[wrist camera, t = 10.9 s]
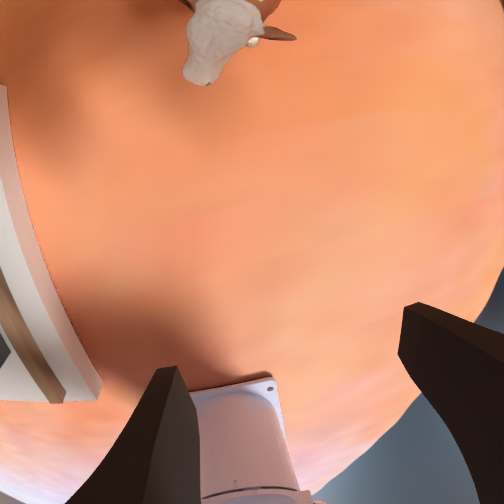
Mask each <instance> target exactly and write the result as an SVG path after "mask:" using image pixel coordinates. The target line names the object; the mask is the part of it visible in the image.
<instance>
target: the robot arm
mask: <svg viewBox="0 0 504 504" xmlns="http://www.w3.org/2000/svg"><path fill="white" fill-rule="evenodd" d="M398 356H399V358H400V360H401V361H402V363H403V365H404V367H405V369H406V370H407V372H408V374H409V375H410V377H411V378H412V380H413V381H414V383H415V384H416V385H417V387H418V388H419V389H420V390H421V392H422V393H423V394H424V396H425V397H426V398H427V399H428V401H429V402H430V404H431V405H432V406H433V408H434V409H435V410H436V411H437V413H438V414H439V415H440V417H441V418H442V420H443V421H444V422H445V424H446V425H447V427H448V428H449V430H450V432H451V433H452V435H453V437H454V439H455V441H456V443H457V444H458V447H459V449H460V450H461V453H462V455H463V457H464V459H465V462H466V464H467V466H468V468H469V471H470V473H471V476H472V479H473V481H474V484H475V487H476V491H477V494H478V498H479V501H480V504H504V334H503V333H500V332H497V331H494V330H491V329H488V328H485V327H482V326H480V325H477V324H475V323H472V322H469V321H467V320H464V319H462V318H459V317H457V316H455V315H452V314H450V313H447V312H445V311H442V310H440V309H437V308H434V307H432V306H429V305H426V304H423V303H420V302H417V303H414V304H412V305H409V306H406V307H404V311H403V320H402V328H401V335H400V342H399V349H398ZM268 387H270V388H268ZM285 441H286V436H285V430H284V425H283V419H282V414H281V408H280V403H279V397H278V391H277V386H276V381H275V379H274V378H273V377H266V378H262V379H258V380H253V381H249V382H244V383H239V384H234V385H229V386H224V387H219V388H213V389H208V390H202V391H196V392H190V393H189V392H188V390H187V388H186V385H185V383H184V381H183V379H182V376H181V374H180V372H179V369H178V367H177V366H172V367H165V368H159V369H157V370H156V372H155V373H154V375H153V377H152V379H151V381H150V383H149V384H148V386H147V388H146V390H145V392H144V394H143V396H142V398H141V399H140V401H139V403H138V405H137V407H136V408H135V410H134V412H133V414H132V415H131V417H130V419H129V421H128V422H127V424H126V426H125V427H124V429H123V431H122V432H121V434H120V435H119V437H118V438H117V440H116V441H115V443H114V445H113V446H112V448H111V449H110V451H109V452H108V454H107V455H106V456H105V458H104V459H103V461H102V462H101V463H100V465H99V466H98V467H97V468H96V470H95V471H94V472H93V473H92V475H91V476H90V477H89V478H88V479H87V481H86V482H85V483H84V484H83V485H82V486H81V487H80V488H79V489H78V490H77V491H76V493H75V494H74V495H73V496H72V497H71V498H70V499H69V500H68V501H67V502H66V503H65V504H326V503H324V502H322V501H313V500H312V497H311V494H310V491H309V490H306V491H300V489H299V485H298V482H297V479H296V476H295V472H294V469H293V466H292V463H291V459H290V456H289V453H288V449H287V446H286V443H285Z"/></svg>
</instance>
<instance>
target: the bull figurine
mask: <svg viewBox="0 0 504 504" xmlns="http://www.w3.org/2000/svg"><path fill="white" fill-rule="evenodd" d="M179 1H180V2H182V3H183V4H185V5H187V6H188V7H189V8H190V9H191V10H192V11H193V12H194V13H195V14H194V15H193V16H192V17H191V19H190V20H189V21H188V23H187V28H186V37H187V40H188V42H189V57H188V59H187V60H186V62H185V64H184V66H183V69H182V76H183V78H184V79H186V80H187V81H189V82H191V83H193V84H195V85H198V86H208V85H211V84H213V83H214V82H215V81H216V80H217V78H218V77H219V76H220V74H221V73H222V70H223V67H224V65H225V64H226V63H227V62H228V61H229V60H230V59H231V58H232V57H233V56H234V55H235V54H236V53H237V52H238V51H239V50H240V49H242V48H244V47H245V45H246V46H248V47H255V46H257V45H258V43H259V40H260V39H259V38H264V39H269V40H281V41H293V40H296V39H297V38H296V37H295V36H294V35H292V34H290V33H287V32H284V31H282V30H280V29H278V28H275V27H271V26H267V25H265V24H264V23H263V22H264V21H265V19H266V18H267V17H268V15H270V14H272V13H273V12H274V11H275V10H276V8H277V7H278V6H279V4H280V1H281V0H179Z"/></svg>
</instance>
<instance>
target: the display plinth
mask: <svg viewBox="0 0 504 504" xmlns="http://www.w3.org/2000/svg"><path fill="white" fill-rule="evenodd" d="M0 333H1V335H2V337H3V338H4V340H5V342H6V344H7V345H8V347H9V349H10V350H11V353H10V355H9V356H8V358H7V359H6V361H5V362H4V364H3V365H2V367H1V368H0V400H12V401H44V402H50V403H63V401H91V400H98V397H99V393H100V390H101V387H102V384H103V381H102V380H101V378H100V376H99V375H98V373H97V371H96V369H95V368H94V366H93V364H92V363H91V361H90V359H89V357H88V355H87V354H86V352H85V350H84V348H83V346H82V344H81V342H80V340H79V338H78V337H77V335H76V333H75V331H74V329H73V327H72V325H71V322H70V320H69V318H68V316H67V314H66V312H65V310H64V308H63V305H62V303H61V301H60V299H59V296H58V294H57V292H56V289H55V287H54V284H53V282H52V280H51V277H50V274H49V272H48V269H47V267H46V264H45V261H44V259H43V256H42V253H41V250H40V247H39V244H38V241H37V238H36V235H35V232H34V229H33V226H32V223H31V219H30V216H29V212H28V209H27V205H26V201H25V198H24V194H23V190H22V185H21V181H20V177H19V172H18V167H17V162H16V157H15V152H14V146H13V140H12V133H11V126H10V118H9V108H8V97H7V86H5V85H0Z"/></svg>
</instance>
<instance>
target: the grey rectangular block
mask: <svg viewBox="0 0 504 504" xmlns="http://www.w3.org/2000/svg"><path fill="white" fill-rule="evenodd" d="M10 353H11V350H10V349H9V347H8V345H7V344H6V342H5V340H4V338H3V337H2V335H1V333H0V368H1V367H2V365H3V364H4V362H5V361H6V359H7V358H8V356H9V355H10Z"/></svg>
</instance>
